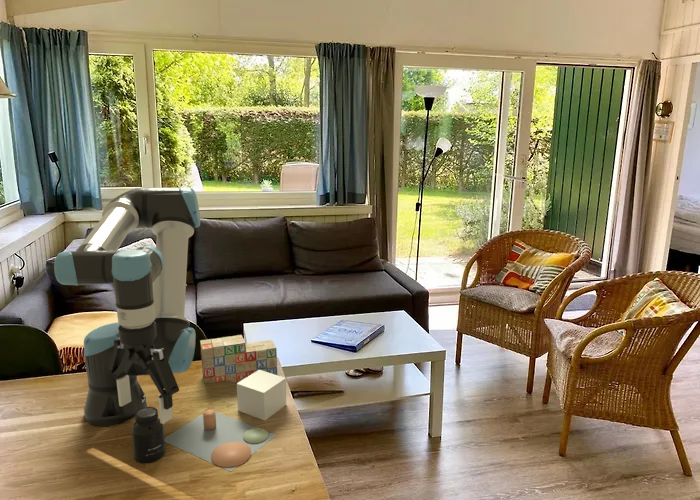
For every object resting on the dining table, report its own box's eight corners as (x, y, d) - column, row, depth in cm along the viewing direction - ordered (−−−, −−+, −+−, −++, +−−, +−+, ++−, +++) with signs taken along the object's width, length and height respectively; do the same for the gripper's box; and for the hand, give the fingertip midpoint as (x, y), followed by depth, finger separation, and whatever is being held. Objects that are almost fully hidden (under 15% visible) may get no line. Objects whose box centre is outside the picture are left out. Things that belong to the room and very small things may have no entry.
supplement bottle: (155, 470, 122) (151, 422, 119) (128, 466, 123) (123, 418, 120) (171, 451, 128) (167, 405, 125) (145, 447, 130) (140, 402, 127)
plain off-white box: (238, 414, 144) (236, 383, 142) (260, 399, 151) (259, 369, 149) (264, 424, 140) (263, 392, 137) (286, 408, 147) (285, 378, 145)
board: (161, 444, 131) (160, 425, 130) (210, 413, 144) (209, 395, 143) (232, 477, 120) (231, 456, 119) (278, 440, 133) (277, 421, 132)
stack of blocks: (273, 367, 170) (272, 330, 167) (277, 376, 164) (276, 338, 161) (202, 377, 163) (199, 339, 160) (204, 388, 157) (201, 348, 154)
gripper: (84, 316, 120) (95, 404, 125) (163, 341, 108) (171, 436, 113) (114, 306, 126) (123, 390, 132) (192, 328, 114) (198, 419, 119)
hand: (145, 412), depth 122 cm, fingers open, 13 cm apart
